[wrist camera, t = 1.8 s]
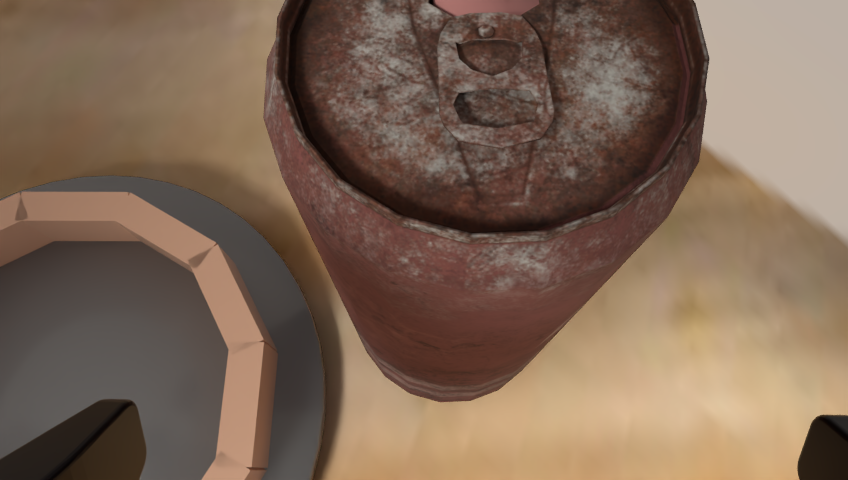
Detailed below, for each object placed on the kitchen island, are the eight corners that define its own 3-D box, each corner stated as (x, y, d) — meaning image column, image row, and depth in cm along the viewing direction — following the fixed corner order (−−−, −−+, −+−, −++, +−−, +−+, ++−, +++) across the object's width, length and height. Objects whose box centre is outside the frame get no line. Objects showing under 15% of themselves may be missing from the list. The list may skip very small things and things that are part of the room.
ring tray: (416, 511, 18) (415, 518, 16) (-128, 851, 15) (-231, 923, 13) (211, 117, 23) (186, 75, 21) (-229, 319, 20) (-317, 299, 18)
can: (457, 192, 22) (505, -211, 9) (576, 328, 20) (847, 68, 7) (319, 289, 21) (143, -20, 8) (432, 443, 19) (450, 380, 6)
